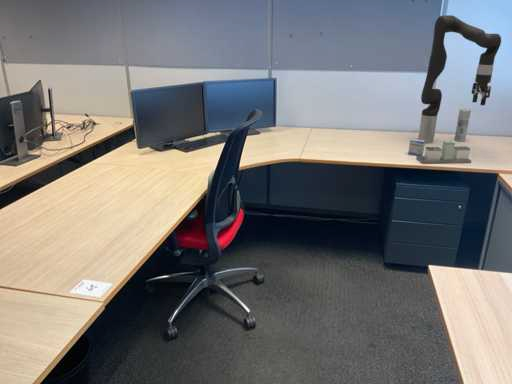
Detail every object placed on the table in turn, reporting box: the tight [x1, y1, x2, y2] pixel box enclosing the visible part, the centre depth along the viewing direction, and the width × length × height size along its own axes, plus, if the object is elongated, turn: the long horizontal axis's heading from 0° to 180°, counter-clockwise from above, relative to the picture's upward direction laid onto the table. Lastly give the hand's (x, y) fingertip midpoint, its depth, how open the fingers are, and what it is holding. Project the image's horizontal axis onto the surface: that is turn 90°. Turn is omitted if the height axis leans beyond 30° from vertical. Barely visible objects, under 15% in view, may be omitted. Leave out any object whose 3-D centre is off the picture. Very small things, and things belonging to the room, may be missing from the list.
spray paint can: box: [454, 108, 472, 142], centre depth 273 cm, size 6×6×20 cm
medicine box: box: [407, 138, 426, 157], centre depth 248 cm, size 8×4×9 cm, turn 62°
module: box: [441, 140, 456, 160], centre depth 236 cm, size 4×5×9 cm
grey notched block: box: [415, 146, 472, 165], centre depth 237 cm, size 9×27×8 cm, turn 92°
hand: (478, 103), depth 235 cm, fingers open, 8 cm apart
